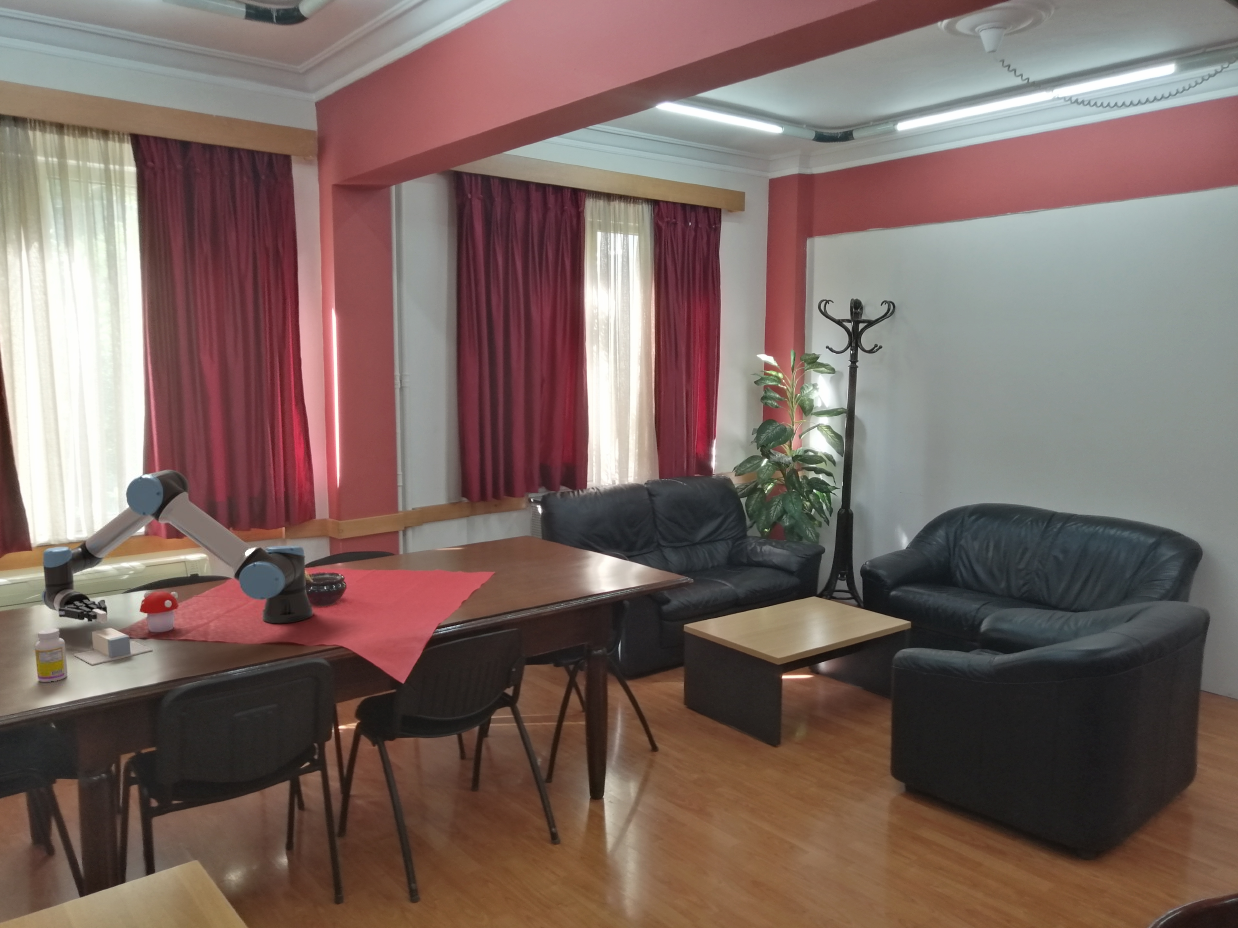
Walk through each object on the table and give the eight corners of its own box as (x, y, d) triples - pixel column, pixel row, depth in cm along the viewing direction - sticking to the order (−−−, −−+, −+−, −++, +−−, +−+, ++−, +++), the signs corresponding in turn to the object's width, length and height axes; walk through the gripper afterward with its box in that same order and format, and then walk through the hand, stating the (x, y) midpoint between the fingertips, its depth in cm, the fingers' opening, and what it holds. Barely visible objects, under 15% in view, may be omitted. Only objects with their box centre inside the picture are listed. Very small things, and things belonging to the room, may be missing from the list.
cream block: (111, 644, 269) (130, 653, 261) (93, 648, 265) (111, 657, 257) (110, 627, 268) (129, 636, 260) (91, 631, 265) (110, 640, 256)
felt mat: (152, 650, 264) (152, 649, 264) (92, 665, 252) (91, 663, 252) (133, 641, 272) (133, 640, 272) (73, 655, 260) (73, 654, 260)
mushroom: (188, 625, 288) (186, 588, 287) (160, 635, 278) (157, 597, 276) (161, 622, 292) (159, 585, 290) (133, 632, 281) (130, 594, 280)
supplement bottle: (46, 674, 245) (42, 627, 244) (72, 673, 246) (68, 626, 244) (32, 683, 238) (28, 635, 237) (59, 682, 239) (55, 634, 237)
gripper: (96, 611, 285) (129, 625, 269) (49, 620, 275) (80, 636, 260) (95, 587, 284) (127, 600, 268) (47, 596, 274) (78, 609, 259)
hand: (104, 617), depth 264 cm, fingers closed
